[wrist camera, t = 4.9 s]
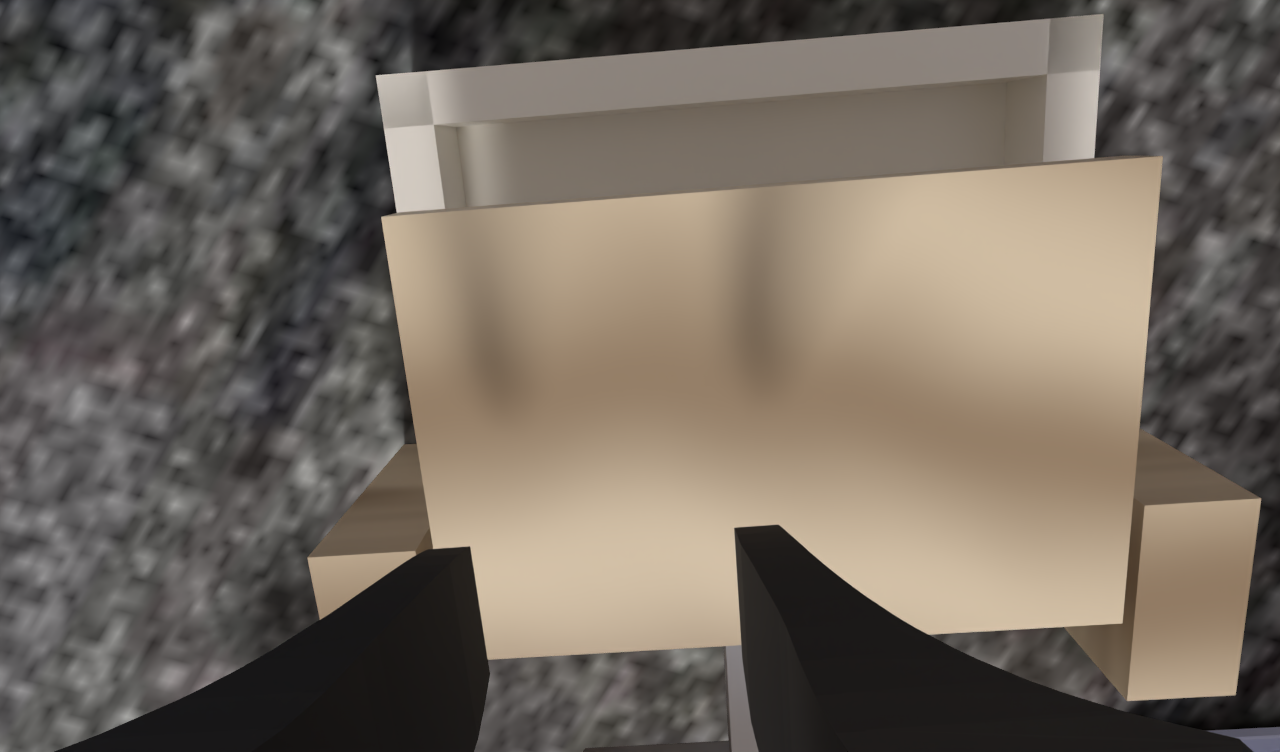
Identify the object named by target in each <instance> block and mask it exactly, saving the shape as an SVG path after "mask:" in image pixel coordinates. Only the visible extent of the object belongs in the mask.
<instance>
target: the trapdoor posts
mask: <svg viewBox="0 0 1280 752" xmlns="http://www.w3.org/2000/svg"><path fill="white" fill-rule="evenodd" d="M1260 505H1261V498H1260V497H1258V496H1256V495H1255V494H1253V493H1251V492H1249V491H1248V490H1246V489H1244V488H1242V487H1241V486H1239V485H1237V484H1235V483H1234V482H1232V481H1230V480H1229V479H1227V478H1225V477H1223V476H1222V475H1220V474H1218V473H1216V472H1215V471H1213V470H1211V469H1209V468H1208V467H1206V466H1204V465H1203V464H1201V463H1199V462H1197V461H1196V460H1194V459H1192V458H1190V457H1189V456H1187V455H1185V454H1183V453H1182V452H1180V451H1178V450H1177V449H1175V448H1173V447H1171V446H1170V445H1168V444H1166V443H1164V442H1163V441H1161V440H1159V439H1157V438H1156V437H1154V436H1152V435H1150V434H1149V433H1147V432H1145V431H1144V430H1142V429H1140V428H1139V438H1138V450H1137V461H1136V473H1135V485H1134V496H1133V508H1132V519H1131V531H1130V543H1129V554H1128V566H1127V577H1126V589H1125V601H1124V612H1123V623H1122V624H1105V625H1087V626H1070V627H1064V628H1065V629H1066V630H1067V631H1068V632H1069V634H1070V635H1071V636H1072V637H1073V638H1074V639H1075V641H1076V642H1077V643H1078V644H1079V645H1080V647H1081V648H1082V649H1083V650H1084V651H1085V652H1086V654H1087V655H1088V656H1089V657H1090V658H1091V659H1092V661H1093V662H1094V663H1095V664H1096V665H1097V666H1098V668H1099V669H1100V670H1101V671H1102V672H1103V673H1104V675H1105V676H1106V677H1107V678H1108V679H1109V680H1110V682H1111V683H1112V684H1113V685H1114V686H1115V687H1116V689H1117V690H1118V691H1119V692H1120V693H1121V695H1122V696H1123V697H1124V698H1125V699H1126V700H1127V701H1136V700H1155V699H1174V698H1193V697H1211V696H1230V695H1236V689H1237V681H1238V674H1239V666H1240V658H1241V651H1242V643H1243V635H1244V628H1245V620H1246V612H1247V605H1248V597H1249V589H1250V581H1251V574H1252V566H1253V558H1254V551H1255V543H1256V535H1257V528H1258V520H1259V512H1260ZM427 549H433V544H432V538H431V531H430V525H429V518H428V512H427V506H426V499H425V493H424V487H423V480H422V474H421V468H420V461H419V455H418V448H417V444H405V445H403V446H402V447H401V448H400V450H399V451H398V452H397V453H396V454H395V456H394V457H393V458H392V459H391V460H390V461H389V463H388V464H387V465H386V466H385V467H384V468H383V470H382V471H381V472H380V473H379V474H378V475H377V477H376V478H375V479H374V480H373V481H372V482H371V484H370V485H369V486H368V487H367V488H366V490H365V491H364V492H363V493H362V494H361V495H360V497H359V498H358V499H357V500H356V501H355V502H354V504H353V505H352V506H351V507H350V508H349V509H348V511H347V512H346V513H345V514H344V515H343V516H342V518H341V519H340V520H339V521H338V522H337V524H336V525H335V526H334V527H333V528H332V529H331V531H330V532H329V533H328V534H327V535H326V536H325V538H324V539H323V540H322V541H321V542H320V543H319V545H318V546H317V547H316V548H315V549H314V550H313V552H312V553H311V554H310V555H309V556H308V563H309V568H310V573H311V578H312V583H313V588H314V593H315V598H316V603H317V608H318V613H319V618H320V620H321V619H322V618H324V617H325V616H327V615H328V614H330V613H331V612H333V611H334V610H336V609H337V608H339V607H340V606H342V605H343V604H345V603H346V602H348V601H349V600H350V599H352V598H353V597H355V596H356V595H358V594H359V593H361V592H362V591H363V590H365V589H366V588H368V587H369V586H371V585H372V584H374V583H375V582H376V581H378V580H379V579H381V578H382V577H384V576H385V575H387V574H388V573H389V572H391V571H392V570H394V569H395V568H397V567H398V566H400V565H401V564H403V563H404V562H406V561H407V560H409V559H411V558H412V557H414V556H416V555H417V554H419V553H421V552H423V551H425V550H427Z"/></svg>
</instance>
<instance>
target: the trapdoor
mask: <svg viewBox="0 0 1280 752" xmlns="http://www.w3.org/2000/svg"><path fill="white" fill-rule="evenodd" d="M1162 160H1163V156H1115V157H1102V158H1089V159H1077V160H1064V161H1051V162H1038V163H1025V164H1013V165H1000V166H987V167H974V168H961V169H948V170H936V171H923V172H910V173H897V174H884V175H871V176H859V177H846V178H833V179H820V180H807V181H794V182H782V183H769V184H756V185H743V186H730V187H718V188H705V189H692V190H679V191H666V192H653V193H641V194H628V195H615V196H602V197H589V198H576V199H564V200H551V201H538V202H525V203H512V204H499V205H487V206H474V207H461V208H448V209H435V210H423V211H410V212H399V213H395V214H391V215H387V216H383V217H381V219H382V226H383V232H384V238H385V245H386V251H387V257H388V264H389V270H390V277H391V283H392V289H393V296H394V302H395V308H396V315H397V321H398V327H399V334H400V340H401V347H402V353H403V359H404V366H405V372H406V378H407V385H408V391H409V398H410V404H411V410H412V417H413V423H414V429H415V436H416V442H417V448H418V455H419V461H420V468H421V474H422V480H423V487H424V493H425V499H426V506H427V512H428V518H429V525H430V531H431V538H432V544H433V549H440V548H454V547H468V546H470V548H471V555H472V561H473V568H474V574H475V581H476V587H477V594H478V600H479V607H480V613H481V620H482V626H483V633H484V639H485V646H486V652H487V659H488V660H490V659H507V658H525V657H542V656H560V655H578V654H595V653H613V652H630V651H648V650H665V649H683V648H701V647H718V646H723V650H724V667H725V685H726V702H727V719H728V737H729V741H714V742H695V743H676V744H657V745H638V746H619V747H600V748H585V749H584V751H583V752H759V751H758V747H757V743H756V739H755V735H754V732H753V728H752V724H751V718H750V711H749V704H748V697H747V690H746V682H745V675H744V668H743V660H742V647H741V631H740V614H739V598H738V582H737V566H736V550H735V533H734V528H737V527H751V526H765V525H780V526H781V527H782V528H783V529H784V530H786V531H787V532H788V533H789V534H790V535H791V536H792V537H794V538H795V539H796V540H797V541H798V542H799V543H800V544H801V545H803V546H804V547H805V548H806V549H807V550H808V551H809V552H810V553H812V554H813V555H814V556H815V557H816V558H817V559H818V560H820V561H821V562H822V563H823V564H824V565H826V566H827V567H828V568H829V569H831V570H832V571H833V572H834V573H836V574H837V575H838V576H839V577H841V578H842V579H843V580H845V581H846V582H847V583H848V584H850V585H851V586H853V587H854V588H855V589H857V590H858V591H859V592H861V593H862V594H863V595H865V596H866V597H868V598H869V599H871V600H872V601H874V602H875V603H877V604H878V605H880V606H881V607H883V608H884V609H886V610H887V611H889V612H890V613H892V614H893V615H895V616H897V617H898V618H900V619H901V620H903V621H905V622H906V623H908V624H910V625H912V626H913V627H915V628H917V629H919V630H921V631H922V632H924V633H926V634H928V635H929V634H947V633H964V632H982V631H999V630H1017V629H1034V628H1052V627H1070V626H1087V625H1105V624H1122V623H1123V612H1124V601H1125V589H1126V577H1127V566H1128V554H1129V543H1130V531H1131V519H1132V508H1133V496H1134V485H1135V473H1136V461H1137V450H1138V438H1139V427H1140V415H1141V403H1142V392H1143V380H1144V369H1145V357H1146V345H1147V334H1148V322H1149V311H1150V299H1151V287H1152V276H1153V264H1154V253H1155V241H1156V229H1157V218H1158V206H1159V195H1160V183H1161V171H1162Z"/></svg>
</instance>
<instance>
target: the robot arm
mask: <svg viewBox="0 0 1280 752" xmlns="http://www.w3.org/2000/svg"><path fill="white" fill-rule="evenodd" d="M734 533H735V550H736V566H737V582H738V598H739V614H740V631H741V647H742V660H743V668H744V675H745V682H746V690H747V697H748V704H749V711H750V718H751V724H752V728H753V732H754V735H755V739H756V743H757V747H758V751H759V752H1280V727H1269V728H1250V729H1230V730H1211V731H1204V730H1200V729H1195V728H1191V727H1187V726H1182V725H1178V724H1174V723H1170V722H1165V721H1161V720H1157V719H1152V718H1148V717H1144V716H1140V715H1135V714H1131V713H1128V712H1124V711H1120V710H1117V709H1114V708H1110V707H1107V706H1104V705H1101V704H1098V703H1094V702H1091V701H1088V700H1085V699H1081V698H1078V697H1075V696H1072V695H1069V694H1065V693H1062V692H1059V691H1057V690H1054V689H1051V688H1048V687H1045V686H1043V685H1040V684H1037V683H1034V682H1031V681H1029V680H1026V679H1023V678H1021V677H1019V676H1016V675H1014V674H1011V673H1009V672H1007V671H1004V670H1002V669H999V668H997V667H995V666H992V665H990V664H987V663H985V662H983V661H980V660H978V659H976V658H974V657H971V656H969V655H967V654H965V653H963V652H961V651H959V650H956V649H954V648H952V647H950V646H949V645H947V644H945V643H943V642H941V641H939V640H937V639H936V638H934V637H932V636H930V635H928V634H926V633H924V632H922V631H921V630H919V629H917V628H915V627H913V626H912V625H910V624H908V623H906V622H905V621H903V620H901V619H900V618H898V617H897V616H895V615H893V614H892V613H890V612H889V611H887V610H886V609H884V608H883V607H881V606H880V605H878V604H877V603H875V602H874V601H872V600H871V599H869V598H868V597H866V596H865V595H863V594H862V593H861V592H859V591H858V590H857V589H855V588H854V587H853V586H851V585H850V584H848V583H847V582H846V581H845V580H843V579H842V578H841V577H839V576H838V575H837V574H836V573H834V572H833V571H832V570H831V569H829V568H828V567H827V566H826V565H824V564H823V563H822V562H821V561H820V560H818V559H817V558H816V557H815V556H814V555H813V554H812V553H810V552H809V551H808V550H807V549H806V548H805V547H804V546H803V545H801V544H800V543H799V542H798V541H797V540H796V539H795V538H794V537H792V536H791V535H790V534H789V533H788V532H787V531H786V530H784V529H783V528H782V527H781V526H780V525H765V526H751V527H737V528H734ZM489 676H490V672H489V665H488V659H487V652H486V646H485V639H484V633H483V626H482V620H481V613H480V607H479V600H478V594H477V587H476V581H475V574H474V568H473V561H472V555H471V548H470V546H468V547H454V548H440V549H427V550H425V551H423V552H421V553H419V554H417V555H416V556H414V557H412V558H411V559H409V560H407V561H406V562H404V563H403V564H401V565H400V566H398V567H397V568H395V569H394V570H392V571H391V572H389V573H388V574H387V575H385V576H384V577H382V578H381V579H379V580H378V581H376V582H375V583H374V584H372V585H371V586H369V587H368V588H366V589H365V590H363V591H362V592H361V593H359V594H358V595H356V596H355V597H353V598H352V599H350V600H349V601H348V602H346V603H345V604H343V605H342V606H340V607H339V608H337V609H336V610H334V611H333V612H331V613H330V614H328V615H327V616H325V617H324V618H322V619H321V620H319V621H317V622H316V623H314V624H313V625H311V626H309V627H308V628H306V629H305V630H303V631H302V632H300V633H298V634H297V635H295V636H294V637H292V638H291V639H289V640H287V641H286V642H284V643H283V644H281V645H279V646H278V647H276V648H275V649H273V650H272V651H270V652H268V653H266V654H265V655H263V656H261V657H260V658H258V659H256V660H254V661H253V662H251V663H249V664H247V665H245V666H244V667H242V668H240V669H238V670H236V671H235V672H233V673H231V674H229V675H227V676H225V677H223V678H221V679H219V680H217V681H215V682H213V683H211V684H209V685H207V686H206V687H204V688H202V689H200V690H198V691H196V692H194V693H192V694H190V695H188V696H186V697H183V698H181V699H179V700H177V701H175V702H173V703H170V704H168V705H166V706H163V707H161V708H159V709H157V710H154V711H152V712H150V713H147V714H145V715H143V716H141V717H138V718H136V719H134V720H131V721H129V722H127V723H125V724H122V725H120V726H118V727H115V728H113V729H111V730H109V731H106V732H104V733H102V734H99V735H97V736H94V737H92V738H89V739H87V740H84V741H81V742H79V743H76V744H73V745H71V746H68V747H65V748H63V749H60V750H58V751H55V752H474V750H475V746H476V743H477V740H478V736H479V731H480V726H481V721H482V716H483V711H484V705H485V699H486V694H487V688H488V682H489Z"/></svg>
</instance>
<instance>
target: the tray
mask: <svg viewBox="0 0 1280 752" xmlns="http://www.w3.org/2000/svg"><path fill="white" fill-rule="evenodd" d="M1103 15H1104V14H1099V15H1087V16H1075V17H1063V18H1052V19H1040V20H1028V21H1016V22H1004V23H992V24H980V25H969V26H957V27H945V28H933V29H921V30H909V31H898V32H886V33H874V34H862V35H850V36H838V37H826V38H815V39H803V40H791V41H779V42H767V43H755V44H744V45H732V46H720V47H708V48H696V49H684V50H672V51H661V52H649V53H637V54H625V55H613V56H601V57H590V58H578V59H566V60H554V61H542V62H530V63H519V64H507V65H495V66H483V67H471V68H459V69H447V70H436V71H424V72H412V73H400V74H388V75H376V79H377V86H378V92H379V99H380V106H381V112H382V119H383V125H384V132H385V138H386V145H387V152H388V158H389V165H390V171H391V178H392V185H393V191H394V198H395V204H396V211H397V213H399V212H410V211H423V210H435V209H448V208H461V207H474V206H487V205H499V204H512V203H525V202H538V201H551V200H564V199H576V198H589V197H602V196H615V195H628V194H641V193H653V192H666V191H679V190H692V189H705V188H718V187H730V186H743V185H756V184H769V183H782V182H794V181H807V180H820V179H833V178H846V177H859V176H871V175H884V174H897V173H910V172H923V171H936V170H948V169H961V168H974V167H987V166H1000V165H1013V164H1025V163H1038V162H1051V161H1064V160H1077V159H1089V158H1094V154H1095V138H1096V123H1097V108H1098V92H1099V77H1100V61H1101V46H1102V31H1103Z"/></svg>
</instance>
